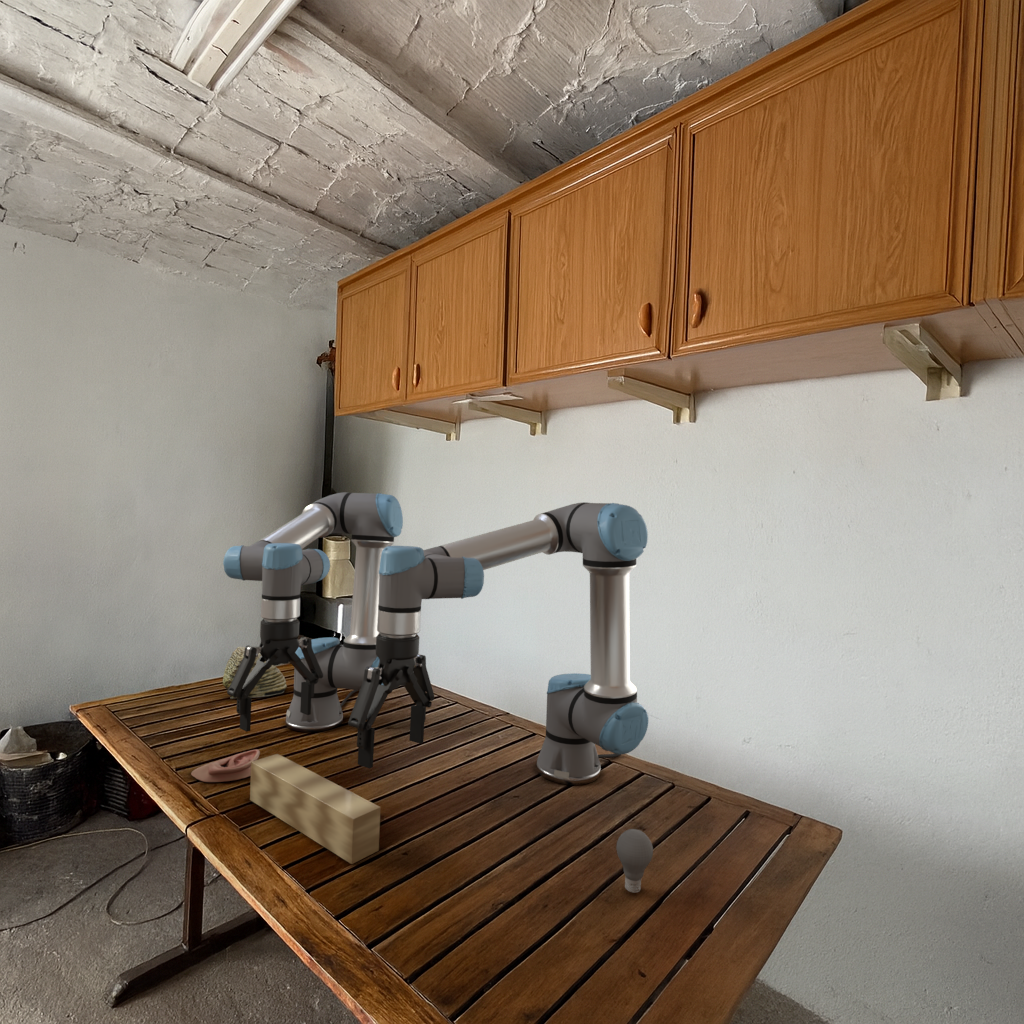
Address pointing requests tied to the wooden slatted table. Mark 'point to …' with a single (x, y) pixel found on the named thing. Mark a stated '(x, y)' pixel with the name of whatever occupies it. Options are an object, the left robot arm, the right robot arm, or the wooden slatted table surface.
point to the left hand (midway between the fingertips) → (276, 721)
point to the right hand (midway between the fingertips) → (392, 753)
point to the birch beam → (316, 807)
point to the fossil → (266, 685)
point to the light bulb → (634, 857)
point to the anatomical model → (227, 768)
